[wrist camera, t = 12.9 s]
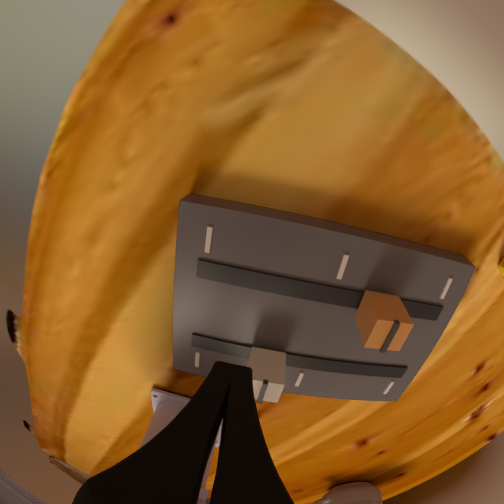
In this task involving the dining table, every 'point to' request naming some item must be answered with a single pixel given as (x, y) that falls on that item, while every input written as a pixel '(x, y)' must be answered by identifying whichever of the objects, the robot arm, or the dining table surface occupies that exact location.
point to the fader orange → (383, 321)
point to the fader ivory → (267, 373)
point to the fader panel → (304, 297)
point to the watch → (501, 266)
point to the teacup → (352, 494)
